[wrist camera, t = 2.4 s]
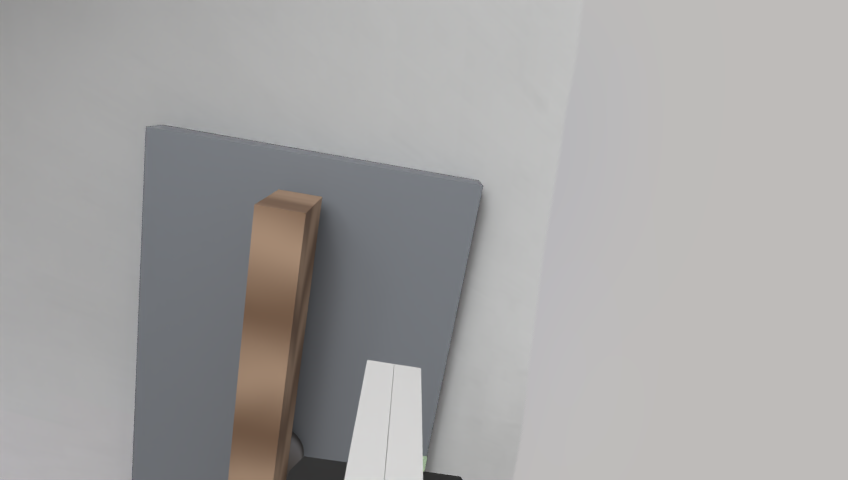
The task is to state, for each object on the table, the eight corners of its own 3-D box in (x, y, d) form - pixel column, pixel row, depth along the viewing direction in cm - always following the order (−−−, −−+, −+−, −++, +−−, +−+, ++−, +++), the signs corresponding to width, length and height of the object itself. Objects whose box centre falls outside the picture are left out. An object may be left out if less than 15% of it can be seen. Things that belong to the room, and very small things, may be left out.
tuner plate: (163, 125, 30) (143, 126, 28) (479, 180, 31) (483, 186, 29) (142, 553, 38) (125, 581, 36) (395, 585, 39) (394, 614, 37)
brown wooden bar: (269, 184, 29) (237, 201, 24) (339, 196, 29) (322, 216, 24) (230, 568, 36) (198, 647, 31) (287, 575, 36) (265, 655, 31)
